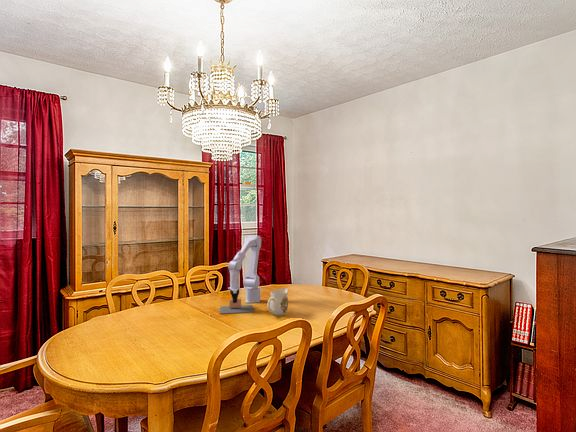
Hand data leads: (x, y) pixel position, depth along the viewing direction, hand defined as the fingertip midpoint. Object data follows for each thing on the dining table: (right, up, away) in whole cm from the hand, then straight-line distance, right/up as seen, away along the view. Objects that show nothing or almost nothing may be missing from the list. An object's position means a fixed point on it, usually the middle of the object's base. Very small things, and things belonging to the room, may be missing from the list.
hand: (234, 302), depth 211 cm
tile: (0, -3, 0) cm, 3 cm away
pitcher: (+27, -5, -10) cm, 29 cm away
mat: (+1, -4, -2) cm, 5 cm away
